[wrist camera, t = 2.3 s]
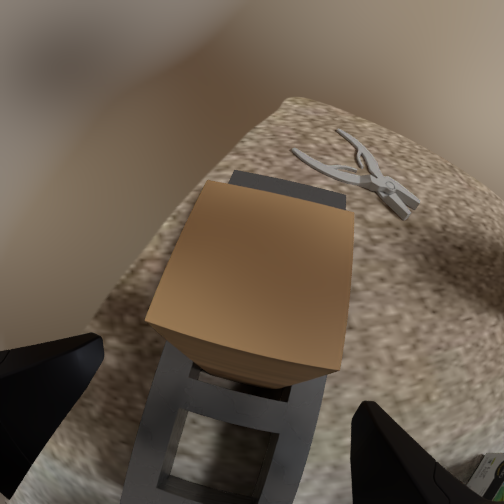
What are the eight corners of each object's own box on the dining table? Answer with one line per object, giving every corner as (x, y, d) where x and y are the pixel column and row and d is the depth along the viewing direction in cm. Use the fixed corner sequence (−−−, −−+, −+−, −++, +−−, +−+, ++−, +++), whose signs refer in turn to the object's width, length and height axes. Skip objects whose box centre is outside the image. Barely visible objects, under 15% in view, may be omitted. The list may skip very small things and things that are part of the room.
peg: (271, 390, 17) (339, 370, 5) (210, 374, 18) (144, 320, 6) (285, 332, 20) (354, 212, 8) (227, 318, 20) (207, 180, 8)
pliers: (341, 123, 33) (430, 190, 27) (338, 132, 34) (424, 199, 28) (291, 143, 29) (396, 229, 24) (289, 154, 31) (389, 238, 25)
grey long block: (268, 529, 11) (273, 549, 8) (136, 493, 12) (119, 506, 9) (335, 219, 25) (346, 195, 22) (234, 196, 26) (234, 169, 23)
